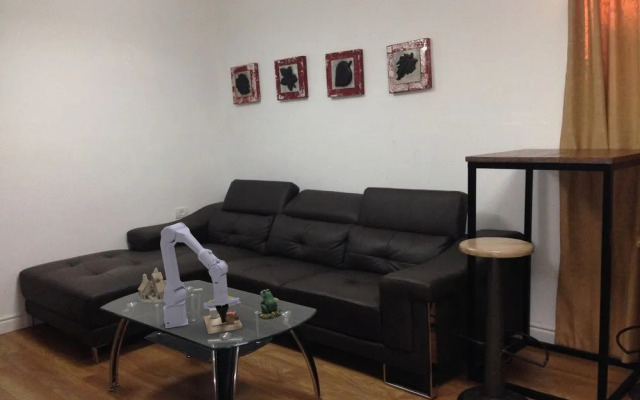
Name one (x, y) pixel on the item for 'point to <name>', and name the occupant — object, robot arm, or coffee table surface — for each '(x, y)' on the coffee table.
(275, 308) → the frog figurine
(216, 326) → the control panel
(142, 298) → the ceramic cottage
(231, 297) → the emergency button
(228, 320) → the walnut slider
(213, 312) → the grey slider
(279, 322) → the coffee table surface
